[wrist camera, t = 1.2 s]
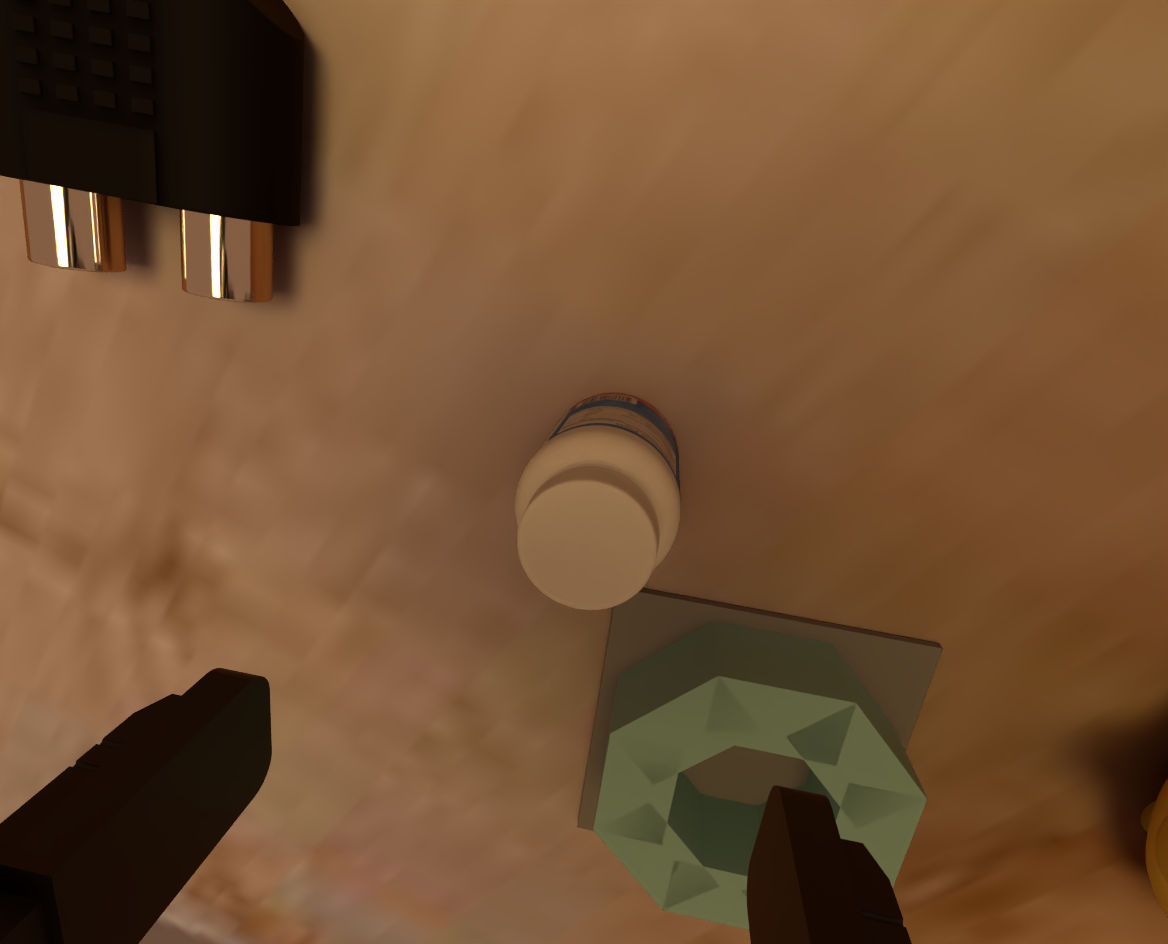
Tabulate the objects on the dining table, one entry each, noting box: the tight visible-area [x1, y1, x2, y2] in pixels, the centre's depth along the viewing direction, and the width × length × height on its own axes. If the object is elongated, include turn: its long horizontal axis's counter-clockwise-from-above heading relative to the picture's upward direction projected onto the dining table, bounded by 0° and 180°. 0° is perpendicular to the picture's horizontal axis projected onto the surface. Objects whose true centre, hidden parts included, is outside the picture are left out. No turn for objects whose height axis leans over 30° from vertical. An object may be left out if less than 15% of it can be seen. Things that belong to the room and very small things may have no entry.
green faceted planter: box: [593, 621, 927, 930], centre depth 28 cm, size 12×12×4 cm
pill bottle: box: [515, 394, 681, 610], centre depth 22 cm, size 6×5×10 cm
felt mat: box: [577, 588, 943, 831], centre depth 30 cm, size 14×14×1 cm
